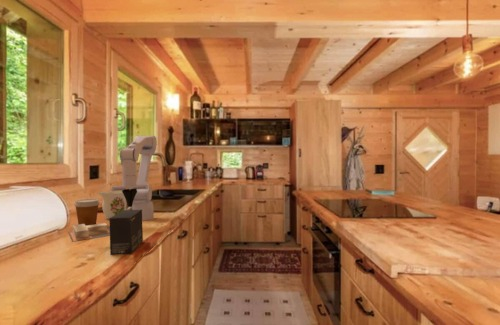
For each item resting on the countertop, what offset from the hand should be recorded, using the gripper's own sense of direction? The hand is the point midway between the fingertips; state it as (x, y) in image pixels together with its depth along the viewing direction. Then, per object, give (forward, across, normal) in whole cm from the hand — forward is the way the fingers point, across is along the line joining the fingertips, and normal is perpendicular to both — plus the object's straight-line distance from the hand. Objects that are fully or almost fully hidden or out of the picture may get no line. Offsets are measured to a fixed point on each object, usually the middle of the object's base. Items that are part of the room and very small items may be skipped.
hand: (129, 206), depth 116 cm
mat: (+9, -12, -2) cm, 15 cm away
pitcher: (+10, 0, +25) cm, 27 cm away
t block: (+9, -15, -2) cm, 18 cm away
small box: (+10, -8, -27) cm, 29 cm away
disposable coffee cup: (+10, -14, +12) cm, 21 cm away
